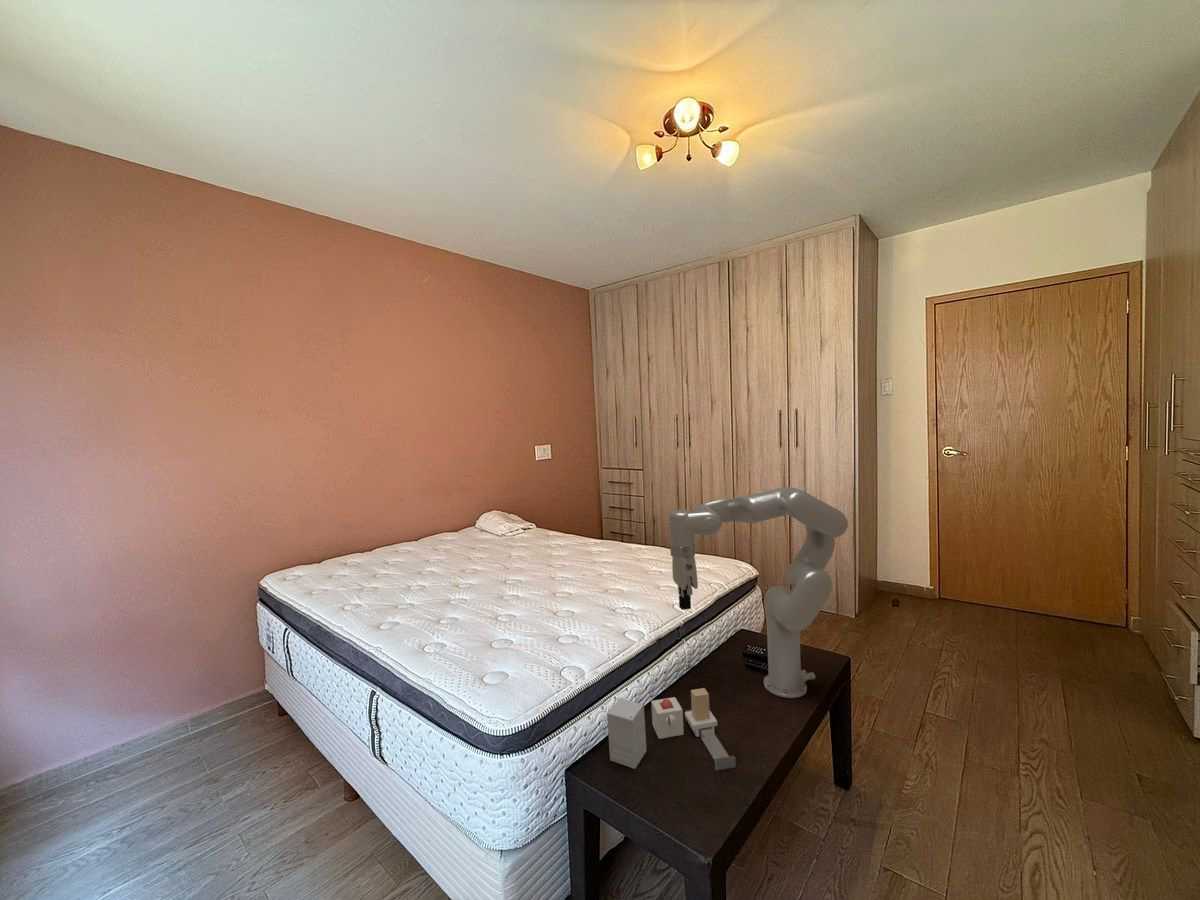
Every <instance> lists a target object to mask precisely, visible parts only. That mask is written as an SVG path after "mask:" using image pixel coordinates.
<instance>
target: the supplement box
mask: <svg viewBox="0 0 1200 900" xmlns="http://www.w3.org/2000/svg"><path fill="white" fill-rule="evenodd" d="M606 719H607V731H608V732H607V733H608V746H609V747H608V748H609V750H608V751H609V761H611V762H613V763H617V764H620V765H623V766H626V767H629V768H631V769H634V770H635V769H637V767H638V765H639V764H640V762H641V760H642V759H643V758H644V755H646V753H647V736H646V720H645V719H646V718H645V705H644V704H642V703H639V702H636V701H632V700H628V699H626V698H622V697H620V698H619V699H618V700H617V701H616V702H615V703H614V704H613V705H612V707H611V708H610V709H609V710H608V711H607V712H606Z"/></svg>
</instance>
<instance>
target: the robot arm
mask: <svg viewBox="0 0 1200 900" xmlns="http://www.w3.org/2000/svg"><path fill="white" fill-rule="evenodd" d="M785 516H788V517H790V518H792V519H795V520H796V521H798V522H800V523H801V524H802V525H805V526H804V527H805V531H806V536H805V539H804V542H803V544H802V546H801V548H800V549H799V550H798V552H797V553H796V555H795V556H794V558H793V559H792V561H791V563H790V564H789V565H788V567H787V568H786V571H785V578H786V581H787V582H788V584H789V585H790V586H791V587H793V591H792V590H791V589H790V588H787V587H786V586H783V585H775V586H771V587H770V588H768V589H767V591H766V592H765V594H764V597H763V608H764V614H765V619H766V620H765V621H766V631H767V632H766V633H767V634H766V636H767V637H766V638H767V641H766V642H767V664H768V665H767V666H768V667H767V668H768V674H767V675H766V676H765V677H763V686H764V688H765V689H766V690H767V691H768V692H769V693H771V694H772V695H775V696H778V697H781V698H788V699H795V698H797V699H798V698H800V697H803V696H804V695H806V694H807V691H808V687H807V684H806V682H807V681H808V680H809V681H811V680H815V679H816V675H815V673H814V672H807V670H805V669H802V667H801V665H802V663H801V633H800V632H802V631H804V630H806V629H807V628H808V627H809V626H810V625H811V624H812V622H813V621H814V620H815V618H816V616H818V614H820V613H819V612H820V611H821V609H823V607H824V605H825V604H826V602H827V601H828V600H829V598H830V596H831V594H832V589H833V582H832V581H833V580H832V578H831V576H830V575H829V574H828V572H827V571H826V570H825V569H826V567H827V565H828V564H829V562H830V560H831V559H832V557H833V556H834V552H835V547H836V538H839V537H842V536H843V535H845V533H846V532H847V530H848V527H849V522H848V518H847V516H846V515H845V514H844V513H843V512H842V511H841V510H839V509H838V508H835V506H832V505H830V504H828V503H826V502H824V501H822V500H821V499H819V498H817V497H815V496H814V495H812V494H810V493H808V492H807V491H804V490H802V489H799V488H796V487H793V486H792V487H791V486H783V487H779V488H773V489H770V490H766V491H762V492H759V493H754V494H750V495H747V496H746V495H745V496H738V497H732V498H730V497H729V498H724V499H718V500H714V501H710V502H705V503H702V504H701V503H700V504H699V505H698V504H697V506H695V507H694V508H692V509H691V510H689V509H674V510H671V511H670V512H669V514H668V524H669V525H668V527H669V544H670V545H669V547H670V556H671V558H672V560H671V562H672V566H671V567H672V568H671V569H672V580H673V582H674V583H675V585H677V591H678V603H679V604H678V606H679V607H678V608H680V610H682V611H683V610H690V609H691V608H692V602H691V599H692V598H691V596H692V595H693V588H694V589H695V590H698V588H699V583H698V581H699V580H698V571H697V564H696V558H695V556H696V544H695V543H696V542H695V535H704V536H712V535H714V534H717V533H718V532H720V530H721V528H722V524H723V523H729V522H738V523H745V524H756V523H760V522H765V521H768V520H772V519H776V518H780V517H785Z"/></svg>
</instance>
